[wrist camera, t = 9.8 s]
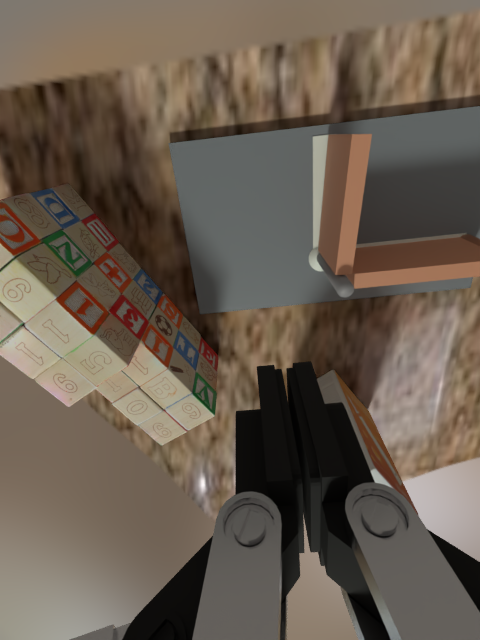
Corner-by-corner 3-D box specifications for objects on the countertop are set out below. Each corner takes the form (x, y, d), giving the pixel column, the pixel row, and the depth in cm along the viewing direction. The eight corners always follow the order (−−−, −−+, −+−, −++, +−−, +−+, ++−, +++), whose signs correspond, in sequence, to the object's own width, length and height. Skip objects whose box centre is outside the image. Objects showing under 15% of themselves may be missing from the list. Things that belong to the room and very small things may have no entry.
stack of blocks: (220, 354, 37) (214, 446, 26) (176, 381, 38) (152, 478, 28) (67, 180, 28) (-38, 209, 17) (18, 224, 30) (-105, 275, 19)
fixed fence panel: (475, 233, 30) (539, 259, 24) (471, 250, 31) (532, 280, 24) (334, 247, 30) (360, 277, 24) (333, 264, 31) (358, 297, 25)
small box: (369, 409, 41) (421, 517, 29) (323, 433, 42) (355, 544, 31) (333, 366, 37) (376, 468, 26) (286, 394, 39) (306, 501, 28)
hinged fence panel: (329, 264, 31) (352, 297, 25) (316, 264, 31) (336, 297, 25) (343, 134, 26) (377, 133, 20) (327, 134, 26) (356, 134, 20)
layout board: (508, 102, 26) (514, 101, 25) (466, 285, 33) (470, 287, 32) (170, 143, 27) (168, 143, 26) (200, 311, 34) (199, 314, 33)
